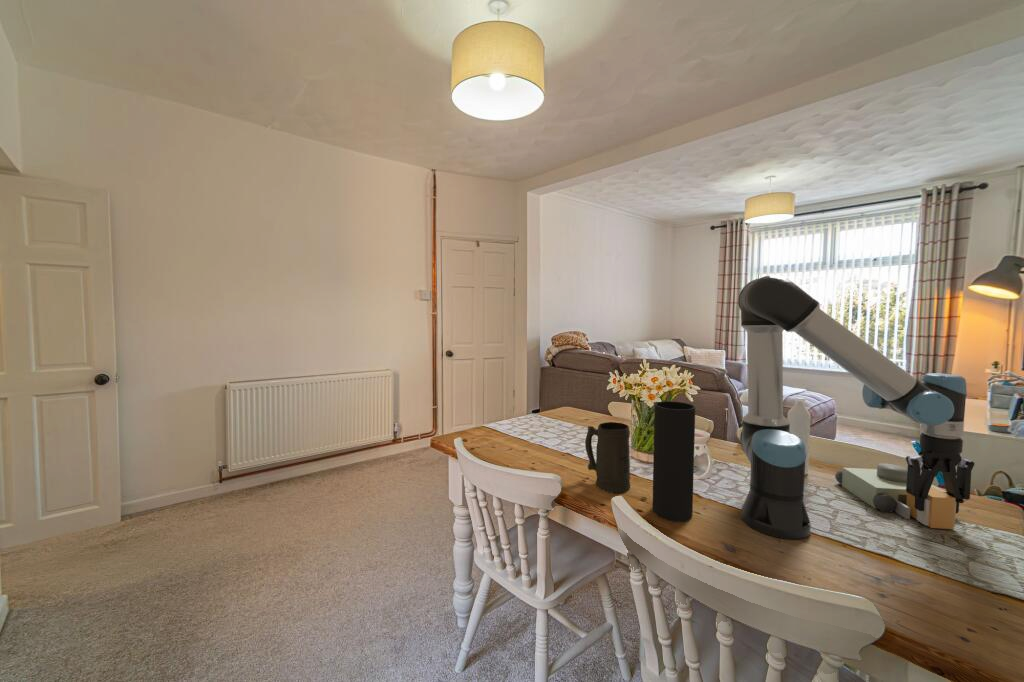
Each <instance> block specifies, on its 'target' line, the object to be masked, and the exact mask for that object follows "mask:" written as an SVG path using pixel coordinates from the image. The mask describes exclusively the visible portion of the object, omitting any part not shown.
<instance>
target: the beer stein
mask: <svg viewBox="0 0 1024 682" xmlns="http://www.w3.org/2000/svg"><path fill="white" fill-rule="evenodd" d="M630 435H631V430H630V427H629V425H627V424H626V423H623V422H617V421H615V422H613V421H608V422H603V423H600V424H598V425H597V428H595V426H594V425H588V426H587V434H586V437H585V439H584V440H585V441H584V444H585V450H586V455H587V459H588V461H589V463H588V465H587V469H588V471H592V470H593V471H595V473H596V474H595V476H596V479H595V486H596V487H597V488H598V489H599V490H601V491H603V490H604V491H603V492H606V491H608V492H607V493H611V492H615V493H614V494H623V493H626V492H628V491H629V490H630V489H631V470H630V469H631V459H630V457H631V456H630V454H631V453H630ZM594 436H597V442H596V447H595V449H596V451H595V452H596V454H595V455H596V458H595V456H594V451H593V445H592V442H593V441H592V439H593V437H594ZM622 492H623V493H622Z"/></svg>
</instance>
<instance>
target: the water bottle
mask: <svg viewBox="0 0 1024 682" xmlns="http://www.w3.org/2000/svg"><path fill="white" fill-rule="evenodd" d="M805 402H806V398H805V397H801V396H799V397H796V400H795V402H794V403H795V404H794V405H793V406H792V407H791V408H790V409H789V410H788V412H787V420H789V422H790V434H794V435H796V436H798V437H799V438H800V439H801V440H802V441H803V442H804V444H805V451H806V460H805V475H808V474H809V464H810V463H809V461H810V460H809V459H810V454H809V453H810V442H811V438H810V434H811V418H812V416H811V413H810V411H809V410H808V408H807V407H806V405H805ZM805 475H804V476H805Z"/></svg>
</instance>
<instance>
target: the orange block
mask: <svg viewBox="0 0 1024 682" xmlns="http://www.w3.org/2000/svg"><path fill="white" fill-rule="evenodd" d="M926 499H928V500H930V510H929V525H926V526H927V527H929V528H931V529H943V530H955V529H954V528H955V527H954V517H955V518H956V516H955V502H956V498H954V497H952V496H950V495H948V494H946V493H944V492H942V491H940V490H938V489H936V488H933V487H931V488H930V490H929V493H928V496H927V498H926ZM906 506H908V507H910V517H912V518H914V519H915V520H917V509H915V507H914V506H915V497H914V496H913V495H911V494H909V493H907V502H906Z"/></svg>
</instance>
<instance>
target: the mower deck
mask: <svg viewBox="0 0 1024 682" xmlns="http://www.w3.org/2000/svg"><path fill="white" fill-rule="evenodd" d="M876 465H877V466H876V468H861V467H860V468H859V467H858V468H857V467H856V468H855V467H842V469H839V470H838V471H837V472H835V476H834V477H835V480H836V481H837V483H839V484H841V486H842V488H844V489H845V490H847V491H848V492H850V493H852V495H854V496H856V497H858V498H859V499H860V500H862V501H863V502H865V503H866V504H868V505H869V506H871V507H872V508H874V509H876V510H878V509H879V510H880V511H881V512H883V513H888V514H889V513H893V512H895V513H897V514H898V515H900V516H901V517H903V518H905V519H906V520H907V519H908V520H910V519H911V515H910V507H908V506H906V502H907V492H906V483H907V470H908V467H907V468H906V467H904V466H900V465H897V464H893V463H892V464H891V463H881V462H880V463H878V464H876ZM931 487H933V488H936V489H938V490H940V491H942V492H944V493H946V494H947V492H946V490H944V489H942V488H940V487H938V486H936V485H934V484H932V485H931Z"/></svg>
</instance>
